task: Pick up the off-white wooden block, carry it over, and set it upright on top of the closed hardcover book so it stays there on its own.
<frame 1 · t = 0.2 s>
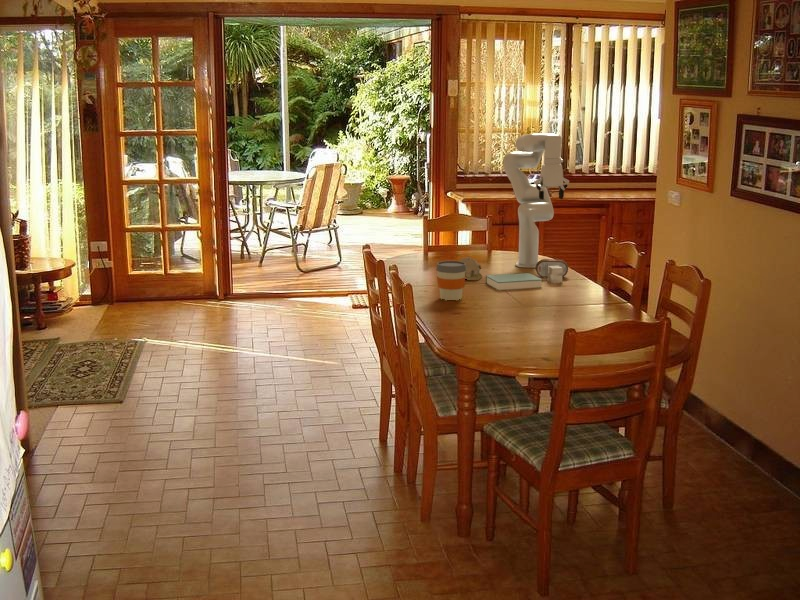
hand: (551, 199, 431), 36 cm above the table, tool pointing down, fingers open, 9 cm apart
ceramic model: (467, 278, 436), on the table
reusable coffee cup: (451, 298, 395), on the table
tin: (551, 277, 437), on the table
book: (513, 286, 419), on the table
block: (554, 281, 426), on the table
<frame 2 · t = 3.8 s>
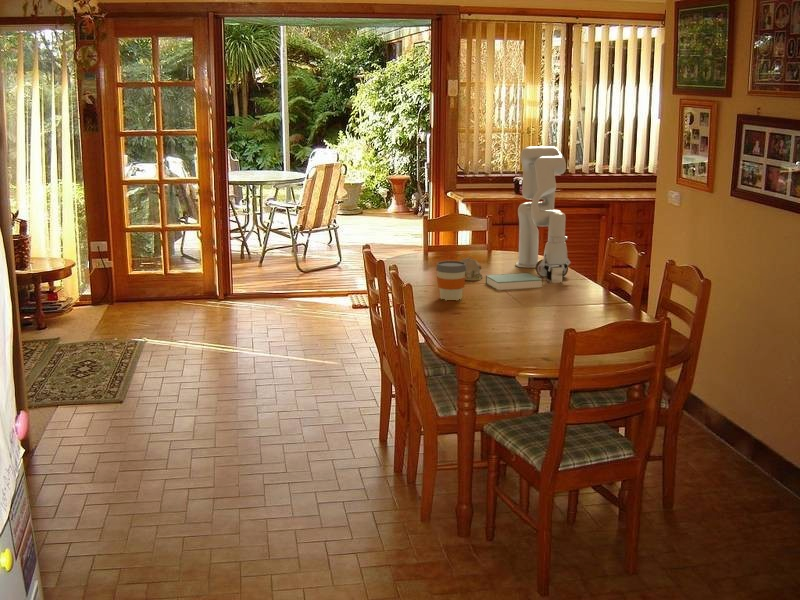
hand: (554, 278, 426), 1 cm above the table, tool pointing down, fingers closed on block, 5 cm apart
block: (554, 281, 426), on the table, touching gripper
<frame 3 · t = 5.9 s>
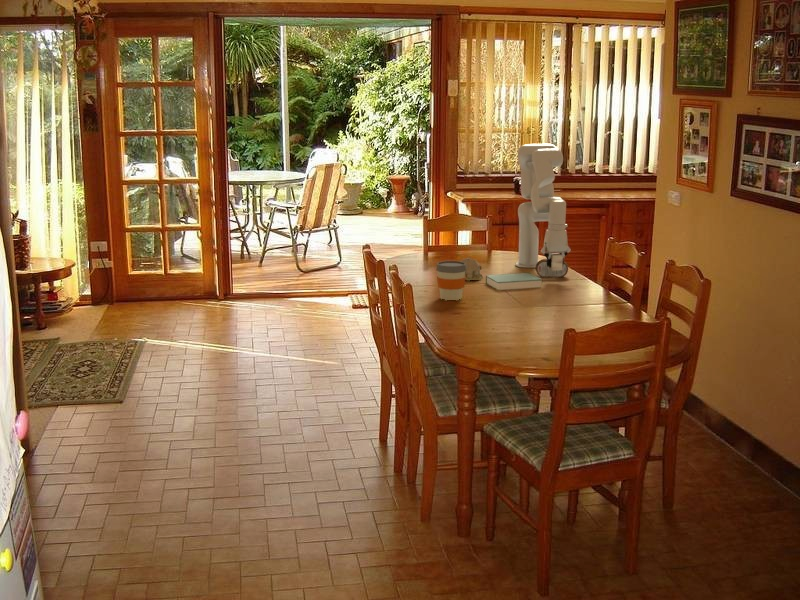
hand: (554, 266, 425), 7 cm above the table, tool pointing down, fingers closed on block, 5 cm apart
block: (554, 269, 426), point 6 cm above the table, touching gripper
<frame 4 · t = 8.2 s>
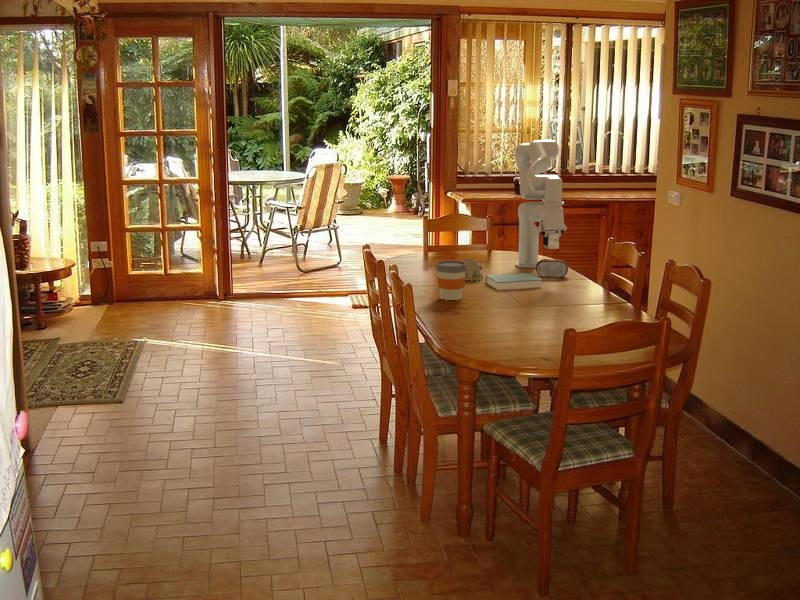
hand: (551, 244, 422), 17 cm above the table, tool pointing down, fingers closed on block, 5 cm apart
block: (551, 247, 422), point 16 cm above the table, touching gripper
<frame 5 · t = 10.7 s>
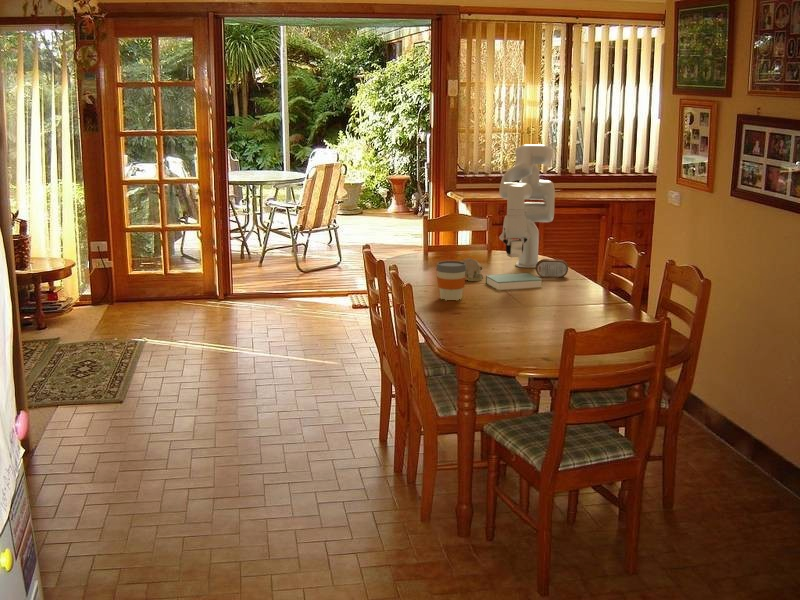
hand: (514, 253, 416), 15 cm above the table, tool pointing down, fingers closed on block, 5 cm apart
block: (514, 256, 416), point 13 cm above the table, touching gripper
when the fingers open (7 cm above the table, at t = 12.7 s): block drops 2 cm, resting on book.
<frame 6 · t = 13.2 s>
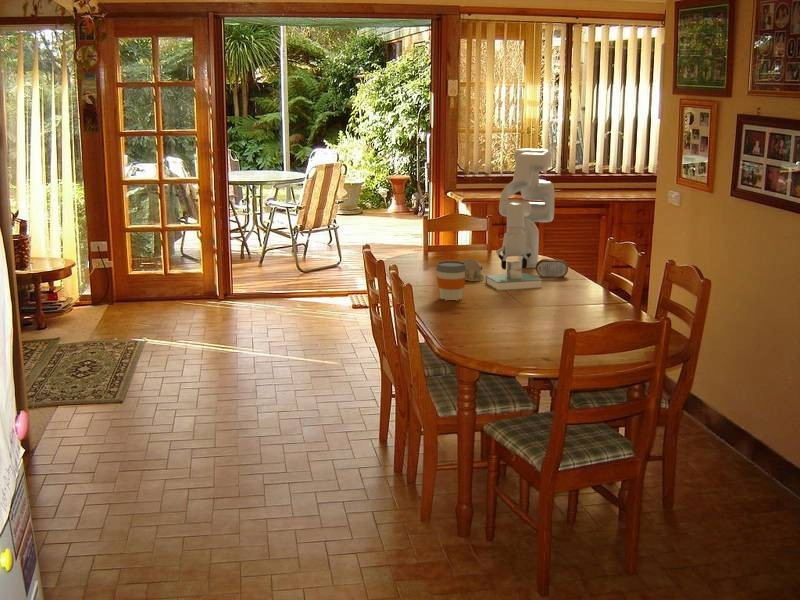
hand: (514, 268, 417), 8 cm above the table, tool pointing down, fingers open, 9 cm apart
book: (513, 286, 419), on the table, touching block
block: (514, 277, 418), point 4 cm above the table, touching book
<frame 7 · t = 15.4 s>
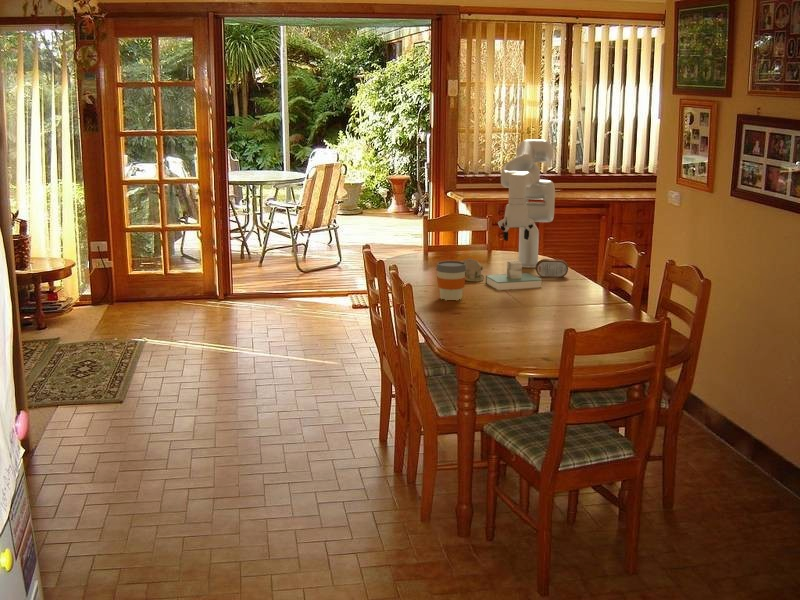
hand: (516, 239, 416), 21 cm above the table, tool pointing down, fingers open, 9 cm apart
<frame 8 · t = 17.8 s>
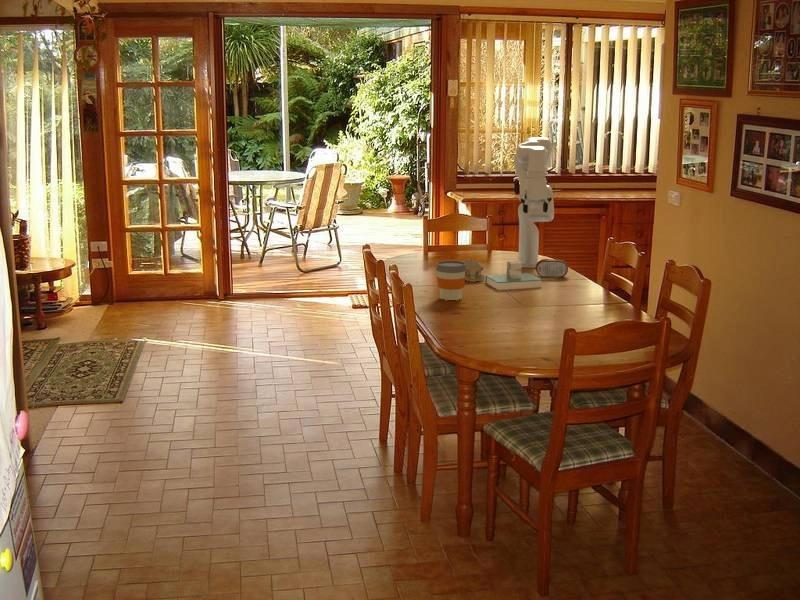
hand: (535, 212, 430), 30 cm above the table, tool pointing down, fingers open, 9 cm apart
at the end: block inside the target area on the book (0.0 cm from its centre), point 4.0 cm above the book's base; block tilted 0°; the gripper is holding nothing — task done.
